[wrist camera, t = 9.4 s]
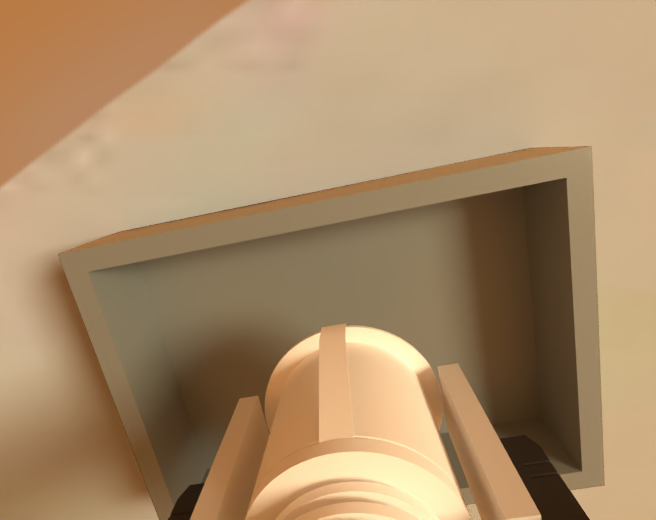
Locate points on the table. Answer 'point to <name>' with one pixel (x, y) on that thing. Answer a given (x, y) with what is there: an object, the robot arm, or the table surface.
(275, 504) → the downlight
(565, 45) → the table surface
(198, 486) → the robot arm
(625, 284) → the table surface
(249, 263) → the tote
